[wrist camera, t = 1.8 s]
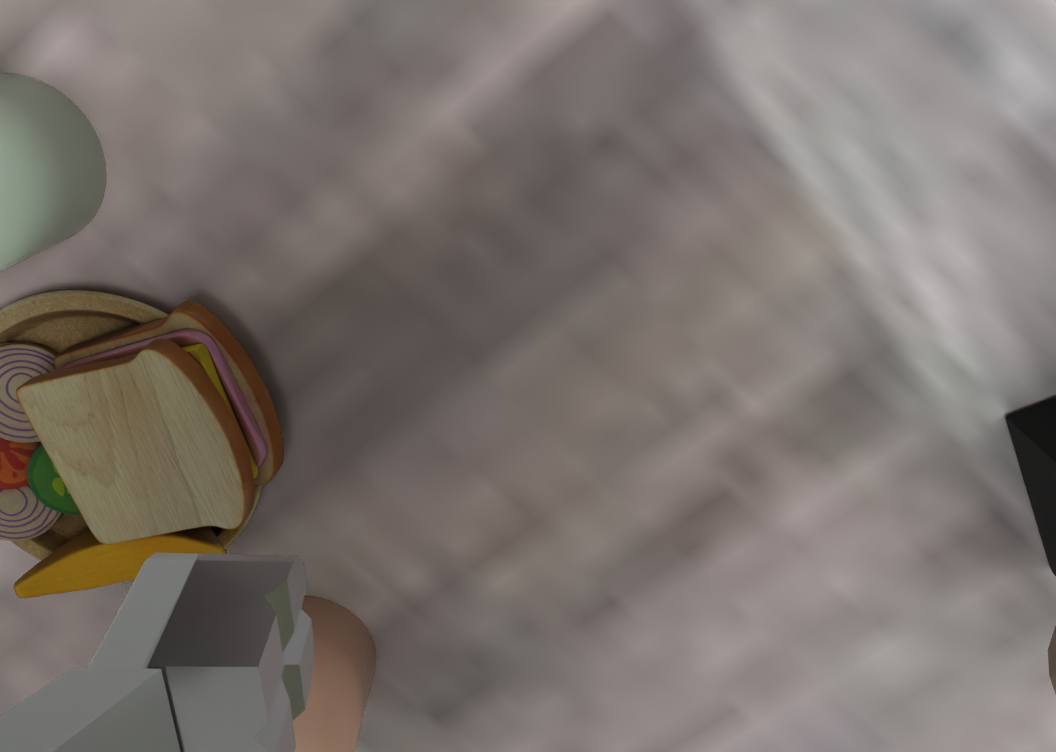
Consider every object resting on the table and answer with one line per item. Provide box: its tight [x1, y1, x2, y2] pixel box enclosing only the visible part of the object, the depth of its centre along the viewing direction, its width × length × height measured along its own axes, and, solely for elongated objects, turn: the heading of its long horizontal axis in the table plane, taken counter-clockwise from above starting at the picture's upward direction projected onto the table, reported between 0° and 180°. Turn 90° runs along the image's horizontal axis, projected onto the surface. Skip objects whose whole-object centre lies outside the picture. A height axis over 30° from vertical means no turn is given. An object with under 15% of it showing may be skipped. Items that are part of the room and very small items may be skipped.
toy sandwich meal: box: [0, 290, 284, 598], centre depth 36 cm, size 12×14×5 cm
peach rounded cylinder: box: [293, 596, 376, 752], centre depth 38 cm, size 6×6×7 cm
